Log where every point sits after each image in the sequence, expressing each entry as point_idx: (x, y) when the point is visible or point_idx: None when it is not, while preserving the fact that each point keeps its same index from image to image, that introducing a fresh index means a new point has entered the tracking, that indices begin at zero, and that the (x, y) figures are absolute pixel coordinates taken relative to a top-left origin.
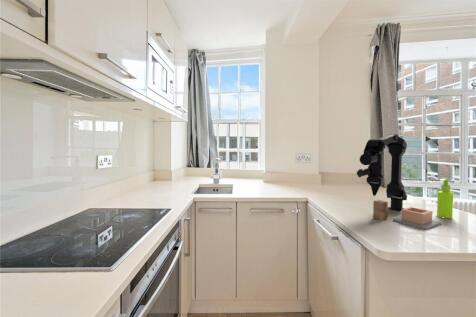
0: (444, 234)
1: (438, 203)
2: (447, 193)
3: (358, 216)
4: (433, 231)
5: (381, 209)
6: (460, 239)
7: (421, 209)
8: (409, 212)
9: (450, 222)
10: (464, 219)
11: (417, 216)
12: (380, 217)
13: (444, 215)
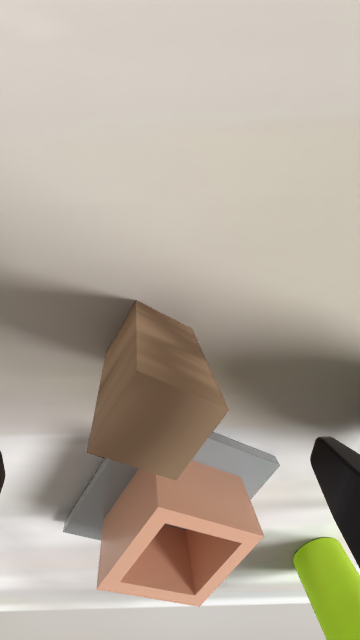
0: (42, 561)
1: (356, 622)
2: None
3: (121, 191)
4: (59, 536)
5: (101, 395)
6: (13, 593)
7: (216, 574)
8: (133, 530)
9: (240, 568)
10: (303, 591)
11: (111, 544)
12: (110, 352)
13: (301, 569)
